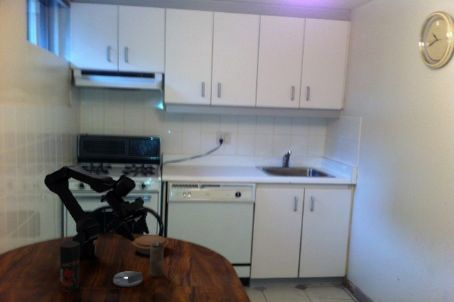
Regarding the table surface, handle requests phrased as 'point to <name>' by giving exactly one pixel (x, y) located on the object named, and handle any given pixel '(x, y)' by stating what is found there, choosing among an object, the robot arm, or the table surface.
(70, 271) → the deodorant
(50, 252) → the table surface
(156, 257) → the brown cylinder
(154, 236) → the pie
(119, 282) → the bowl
